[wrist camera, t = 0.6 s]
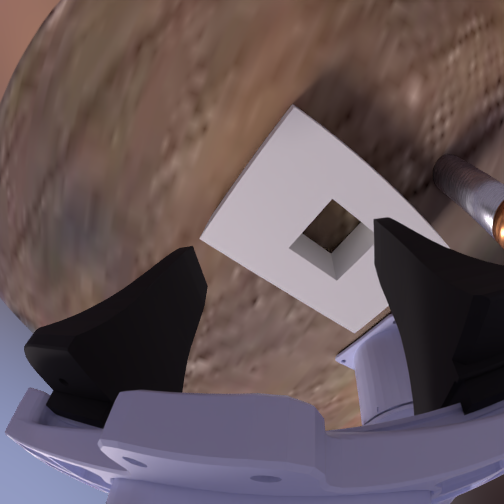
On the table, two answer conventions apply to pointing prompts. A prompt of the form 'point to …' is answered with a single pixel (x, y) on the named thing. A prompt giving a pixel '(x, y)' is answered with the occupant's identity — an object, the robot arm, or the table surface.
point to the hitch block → (310, 220)
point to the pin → (473, 193)
